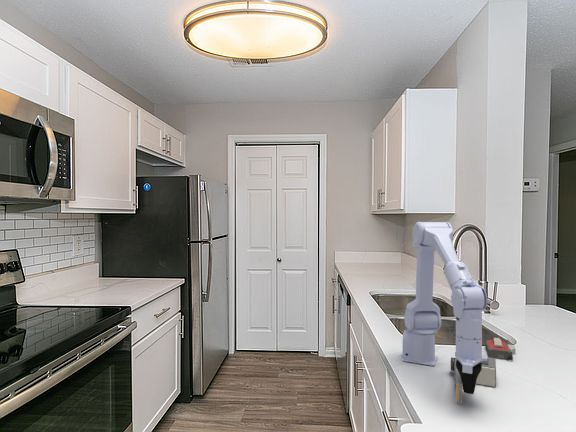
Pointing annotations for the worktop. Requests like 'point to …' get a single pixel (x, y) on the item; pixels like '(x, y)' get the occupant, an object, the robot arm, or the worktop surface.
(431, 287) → the robot arm
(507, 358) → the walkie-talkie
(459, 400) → the side door
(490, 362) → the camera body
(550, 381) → the worktop surface
